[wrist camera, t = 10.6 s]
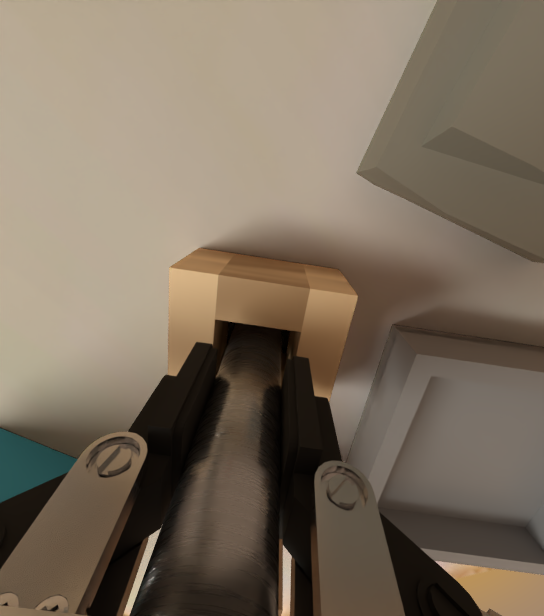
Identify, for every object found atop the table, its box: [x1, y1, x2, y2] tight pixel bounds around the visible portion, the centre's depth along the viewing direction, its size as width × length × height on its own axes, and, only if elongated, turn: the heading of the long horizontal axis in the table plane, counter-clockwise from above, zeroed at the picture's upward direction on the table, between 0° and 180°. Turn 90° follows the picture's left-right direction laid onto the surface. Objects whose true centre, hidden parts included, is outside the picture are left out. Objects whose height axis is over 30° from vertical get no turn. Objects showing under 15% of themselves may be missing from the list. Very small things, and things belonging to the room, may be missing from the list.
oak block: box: [168, 248, 358, 401], centre depth 14 cm, size 7×7×4 cm
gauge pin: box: [130, 323, 281, 616], centre depth 9 cm, size 2×2×12 cm
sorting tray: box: [346, 325, 544, 575], centre depth 17 cm, size 14×14×3 cm
